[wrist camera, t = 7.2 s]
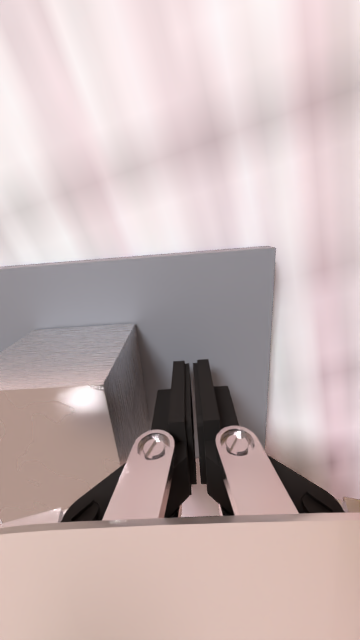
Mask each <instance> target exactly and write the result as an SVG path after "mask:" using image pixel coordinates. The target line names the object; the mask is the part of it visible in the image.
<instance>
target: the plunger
mask: <svg viewBox="0 0 360 640" xmlns="http://www.w3.org/2000/svg"><path fill="white" fill-rule="evenodd" d="M149 424H150V420H149V413H148V406H147V400H146V393H145V386H144V380H143V373H142V366H141V359H140V353H139V346H138V339H137V333H136V326H135V323H131V324H115V325H100V326H85V327H70V328H55V329H40V330H33V331H32V332H30V333H29V334H27V335H26V336H24V337H23V338H21V339H20V340H18V341H17V342H15V343H14V344H12V345H11V346H9V347H8V348H6V349H5V350H3V351H2V352H0V519H1V521H2V523H6V522H10V521H14V520H17V519H21V518H25V517H28V516H32V515H35V514H39V513H43V512H46V511H50V510H54V509H57V508H61V509H62V511H65V510H68V508H69V507H70V506H71V505H72V504H73V503H74V502H75V501H76V500H78V499H79V498H80V497H81V496H83V495H84V494H85V493H87V492H88V491H89V490H91V489H92V488H93V487H94V486H96V485H97V484H98V483H100V482H101V481H102V480H104V479H105V478H106V477H107V476H109V475H110V474H111V473H113V472H114V471H115V470H117V469H118V468H119V467H120V466H122V465H123V464H124V463H126V461H127V459H128V457H129V454H130V452H131V449H132V447H133V445H134V443H135V441H136V439H137V438H138V437H139V436H141V435H142V434H144V433H145V432H147V431H148V430H149Z"/></svg>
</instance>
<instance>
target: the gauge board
mask: <svg viewBox="0 0 360 640" xmlns="http://www.w3.org/2000/svg"><path fill="white" fill-rule="evenodd" d="M275 255H276V248H275V247H269V246H261V247H248V248H236V249H223V250H210V251H197V252H184V253H171V254H159V255H146V256H133V257H120V258H107V259H95V260H82V261H69V262H56V263H43V264H30V265H18V266H5V267H0V352H2V351H3V350H5V349H6V348H8V347H9V346H11V345H12V344H14V343H15V342H17V341H18V340H20V339H21V338H23V337H24V336H26V335H27V334H29V333H30V332H32V331H33V330H40V329H55V328H70V327H85V326H100V325H115V324H131V323H135V326H136V333H137V339H138V346H139V353H140V359H141V366H142V373H143V380H144V386H145V393H146V400H147V406H148V413H149V420H150V424H149V430H148V431H151V426H152V420H153V414H154V408H155V402H156V396H157V391H158V390H161V389H171V382H172V371H173V361H185V364H186V363H189V366H190V379H191V391H192V404H193V419H194V440H195V458H199V448H198V435H197V421H196V405H195V389H194V373H193V363H197V360H202V359H208V360H209V365H210V370H211V376H212V381H213V386H228V388H229V391H230V395H231V398H232V402H233V405H234V409H235V412H236V416H237V420H238V423H239V426H241V427H244V428H247V429H249V430H250V431H252V432H253V433H254V434H255V435H256V437H257V438H258V440H259V442H260V443H261V445H262V447H263V449H264V451H265V436H266V418H267V400H268V381H269V363H270V345H271V327H272V309H273V291H274V273H275Z"/></svg>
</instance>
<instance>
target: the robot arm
mask: <svg viewBox="0 0 360 640" xmlns="http://www.w3.org/2000/svg"><path fill="white" fill-rule="evenodd" d="M193 373H194V389H195V405H196V421H197V435H198V448H199V462H200V476H201V484H207V493H208V494H209V495H210V496H211V497H212V498H213V499H214V500H215V501H217V502H218V506H219V512H220V516H206V517H181V514H182V503H183V502H184V501H185V500H186V499H187V498H188V497H189V495H191V484H197V483H196V462H195V440H194V419H193V404H192V391H191V379H190V366H189V363H186V364H185V361H173V371H172V382H171V389H161V390H158V391H157V396H156V402H155V408H154V414H153V420H152V426H151V431H147V432H145V433H144V434H142V435H141V436H139V437H138V438H137V439H136V441H135V443H134V445H133V447H132V449H131V452H130V454H129V457H128V459H127V461H126V463H124V464H123V465H122V466H120V467H119V468H118V469H117V470H115V471H114V472H113V473H111V474H110V475H109V476H107V477H106V478H105V479H104V480H102V481H101V482H100V483H98V484H97V485H96V486H94V487H93V488H92V489H91V490H89V491H88V492H87V493H85V494H84V495H83V496H81V497H80V498H79V499H78V500H76V501H75V502H74V503H73V504H72V505H71V506H70V507H69V508H68V510H65V511H62V509H61V508H57V509H54V510H50V511H46V512H43V513H39V514H35V515H32V516H28V517H25V518H21V519H17V520H14V521H10V522H6V523H3V524H0V640H360V500H358V499H353V498H347V497H343V501H342V500H336V499H335V498H334V497H333V496H332V495H330V494H329V493H328V492H326V491H325V490H323V489H322V488H320V487H319V486H317V485H315V484H314V483H312V482H310V481H309V480H307V479H306V478H304V477H302V476H301V475H299V474H297V473H296V472H294V471H292V470H291V469H289V468H288V467H286V466H284V465H283V464H281V463H279V462H278V461H276V460H275V459H273V458H271V457H270V456H268V455H267V454H266V453H265V451H264V449H263V447H262V445H261V443H260V442H259V440H258V438H257V437H256V435H255V434H254V433H253V432H252V431H250V430H249V429H247V428H244V427H241V426H239V423H238V420H237V416H236V412H235V409H234V405H233V402H232V398H231V395H230V391H229V388H228V386H213V381H212V376H211V370H210V365H209V360H208V359H202V360H197V363H193Z"/></svg>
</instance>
